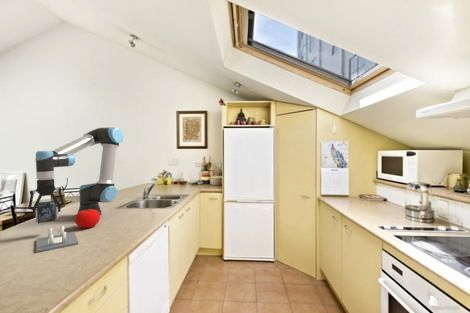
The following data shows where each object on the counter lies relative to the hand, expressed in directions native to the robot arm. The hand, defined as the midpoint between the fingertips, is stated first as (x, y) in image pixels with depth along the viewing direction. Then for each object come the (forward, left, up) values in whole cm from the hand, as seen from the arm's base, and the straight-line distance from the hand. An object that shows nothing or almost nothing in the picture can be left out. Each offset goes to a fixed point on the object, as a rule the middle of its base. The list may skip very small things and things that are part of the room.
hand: (47, 219), depth 130 cm
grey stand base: (-3, +17, -8) cm, 20 cm away
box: (0, 0, -1) cm, 1 cm away
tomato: (-19, -2, -9) cm, 21 cm away
